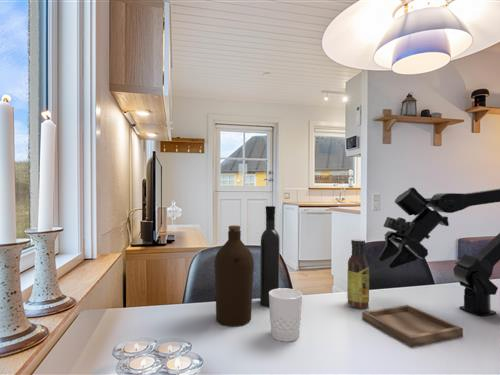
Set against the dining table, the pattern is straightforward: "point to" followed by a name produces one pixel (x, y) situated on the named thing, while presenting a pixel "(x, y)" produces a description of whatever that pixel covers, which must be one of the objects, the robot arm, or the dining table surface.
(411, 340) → the walnut tray
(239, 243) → the olive oil
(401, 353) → the dining table surface
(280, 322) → the white cup
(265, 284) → the wine bottle
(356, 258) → the sauce bottle
